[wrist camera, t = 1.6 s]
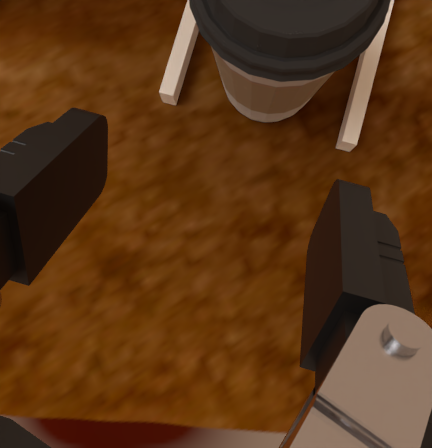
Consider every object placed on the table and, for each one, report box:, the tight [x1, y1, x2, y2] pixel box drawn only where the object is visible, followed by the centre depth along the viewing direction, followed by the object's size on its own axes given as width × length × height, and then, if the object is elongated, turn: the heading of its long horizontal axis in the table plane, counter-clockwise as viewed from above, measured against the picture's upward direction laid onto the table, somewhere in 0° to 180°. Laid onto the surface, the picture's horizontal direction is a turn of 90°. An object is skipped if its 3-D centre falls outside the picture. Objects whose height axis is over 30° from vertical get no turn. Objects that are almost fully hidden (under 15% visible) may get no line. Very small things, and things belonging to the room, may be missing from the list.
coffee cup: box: [189, 0, 391, 123], centre depth 28 cm, size 11×11×15 cm
